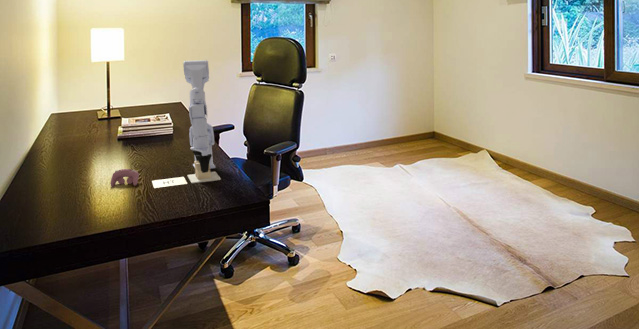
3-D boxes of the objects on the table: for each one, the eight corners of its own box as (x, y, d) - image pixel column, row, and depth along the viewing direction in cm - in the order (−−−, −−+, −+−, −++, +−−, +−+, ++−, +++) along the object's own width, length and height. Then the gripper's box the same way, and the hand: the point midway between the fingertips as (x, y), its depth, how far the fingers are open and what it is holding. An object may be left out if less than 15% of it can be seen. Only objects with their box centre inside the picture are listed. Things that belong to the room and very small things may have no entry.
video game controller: (139, 187, 191) (140, 169, 192) (136, 185, 187) (136, 167, 188) (113, 188, 191) (114, 170, 192) (109, 186, 186) (109, 168, 187)
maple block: (195, 176, 196) (194, 161, 195) (208, 174, 198) (207, 159, 197) (197, 179, 192) (196, 164, 190) (210, 177, 194) (209, 162, 192)
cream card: (151, 181, 193) (151, 180, 193) (183, 177, 197) (183, 176, 197) (154, 188, 184) (154, 187, 184) (187, 184, 188) (187, 183, 188)
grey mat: (187, 176, 198) (187, 174, 198) (215, 172, 202) (215, 171, 202) (191, 183, 188) (191, 182, 188) (220, 180, 192) (220, 178, 192)
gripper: (186, 132, 196) (189, 166, 199) (192, 140, 183) (195, 175, 187) (204, 131, 198) (207, 164, 202) (211, 138, 185) (214, 173, 189)
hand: (203, 169), depth 194 cm, fingers open, 7 cm apart
